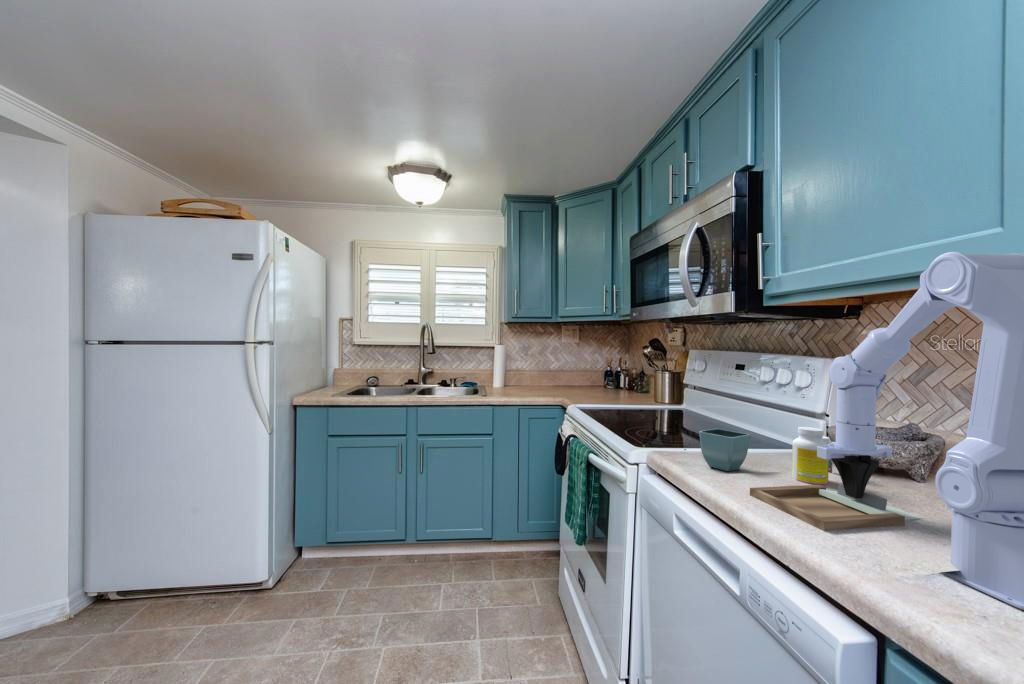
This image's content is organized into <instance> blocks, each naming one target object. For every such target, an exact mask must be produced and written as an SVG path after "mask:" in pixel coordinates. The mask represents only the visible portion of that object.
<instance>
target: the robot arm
mask: <svg viewBox="0 0 1024 684" xmlns="http://www.w3.org/2000/svg"><path fill="white" fill-rule="evenodd" d="M919 286H920V287H919V288H918V290H917V291H916V292H915V293H914V294H913V296H912V297H911V298H910V299H909V301H908V302H907V303H906V304H905V305H904V306H903V308H902V309H901V310H900V311H899V313H898V314H897V315H896V316H895V317H894V319H893V320H892V321H891V322H890V324H889V325H888V326H886V327H878V328H875V329H873V330H870V331H869V332H868V333H867V336H866V337H865V338H864V339H863V340H862V342H861V343H859V345H858V346H856V347H855V349H854V350H853V351H852V352H851V353H850V354H846V355H844V356H838V357H835V358H834V359H833V361H832V362H831V364H830V365H829V369H828V370H829V371H828V376H829V379H830V381H831V384H832V385H834V387H836V405H835V406H836V407H835V408H836V409H835V412H836V413H835V441H831V443H829V444H828V445H826V446H817V457H820V458H823V459H826V460H829V459H831V460H832V464H834V466H835V467H836V469H837V472H838V474H839V476H840V478H841V482H842V484H843V486H844V490H845V493H846V495H847V496H850V497H853V498H855V499H860V498H862V496H863V494H864V491H865V492H866V488H867V485H868V483H869V480H870V479H871V477H872V476H873V474H874V473H875V471H876V470H877V469H878V468H879V467H880V461H879V460H876V459H873V458H879V457H881V458H882V457H884V458H893V446H889V445H884V444H876V436H877V435H876V432H877V431H876V430H877V425H876V424H877V423H876V422H877V400H878V399H879V398H880V397H881V389H882V387H883V386H884V385H885V384H886V381H887V376H888V375H887V374H886V373H887V371H889V370H890V369H891V368H893V366H895V364H897V363H898V362H899V361H900V360H901V359H902V358H903V357H904V356H905V355H907V354H908V353H909V352H910V351H911V350H912V349H911V347H912V346H911V345H912V344H911V339H913V338H914V337H915V336H916V335H917V334H919V333H920V332H921V331H923V330H924V329H925V328H926V327H928V326H929V325H930V324H931V323H933V322H934V321H935V320H936V319H938V318H939V317H940V316H942V315H943V314H945V312H947V311H948V310H949V309H952V308H959V307H961V308H964V309H966V310H967V311H968V312H970V313H971V314H972V315H973V316H974V317H975V318H977V319H979V320H980V321H981V322H982V323H983V326H982V331H981V332H982V333H981V339H980V345H979V346H980V347H979V353H978V359H977V366H976V372H975V373H976V374H975V377H974V378H975V379H974V385H973V391H972V400H971V405H970V411H969V420H968V426H967V431H966V438H964V439H963V440H962V441H960V442H958V443H957V444H955V445H953V447H951V448H950V449H949V450H947V451H946V455H945V460H944V463H943V464H942V465H941V466H940V467H939V469H938V470H937V472H936V475H935V487H936V490H937V491H936V492H937V493H938V495H939V496H940V499H942V501H943V502H944V503H945V504H946V508H947V509H948V510H950V511H951V532H950V541H951V543H950V563H951V565H952V566H953V567H954V568H956V569H957V570H949V571H941V572H939V573H941V574H942V575H944V576H947V577H949V578H951V579H953V580H956V581H958V582H960V583H962V584H965V585H966V586H969V587H971V588H973V589H976V590H978V591H980V592H982V593H984V594H987V595H989V596H991V597H994V598H995V599H998V600H1000V601H1003V602H1004V603H1006V604H1009V605H1011V606H1014V607H1015V608H1018V609H1020V610H1023V611H1024V254H1023V253H1014V252H1013V253H1004V254H1003V253H973V252H972V253H969V252H967V253H966V252H963V251H962V252H960V251H949V252H948V251H947V252H945V253H942V254H940V255H939V256H937V257H935V259H934V260H932V262H931V263H930V264H929V266H928V268H927V269H925V270H924V271H923V272H921V274H920V276H919Z"/></svg>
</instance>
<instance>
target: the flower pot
mask: <svg viewBox="0 0 1024 684" xmlns="http://www.w3.org/2000/svg"><path fill="white" fill-rule="evenodd" d="M698 434H699V443H700V451H701V454H702V457H703V459H704V461H705V462H706V464H707V465H708V467H710V468H712V467H713V468H714V469H716V470H717V469H718V470H721V471H723V472H731V471H736V470H739V469H740V468H741V466H742V465H743V463H744V462H745V460H746V458H747V456H748V455H747V454H748V451H749V446H750V445H749V444H750V441H751V440H750V439H751V434H748V433H744V432H738V431H733V430H727V429H723V428H722V429H721V428H712V429H706V430H705V429H704V430H699V431H698Z"/></svg>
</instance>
